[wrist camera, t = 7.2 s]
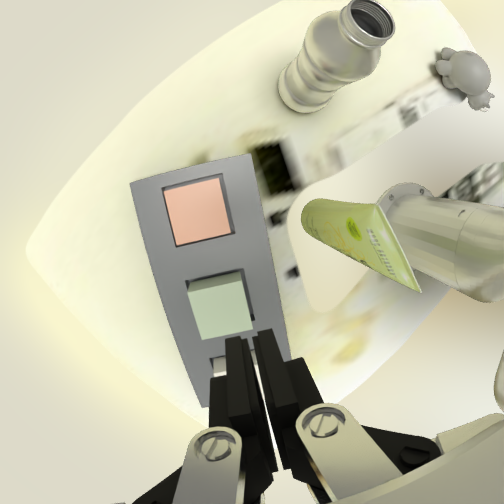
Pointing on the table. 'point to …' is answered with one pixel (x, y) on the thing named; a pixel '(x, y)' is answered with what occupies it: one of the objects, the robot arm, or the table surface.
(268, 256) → the panel
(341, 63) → the plastic bottle
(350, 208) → the tube
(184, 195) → the terracotta button
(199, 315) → the sage button
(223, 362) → the offwhite button
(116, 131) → the table surface
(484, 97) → the chubby cartoon animal
